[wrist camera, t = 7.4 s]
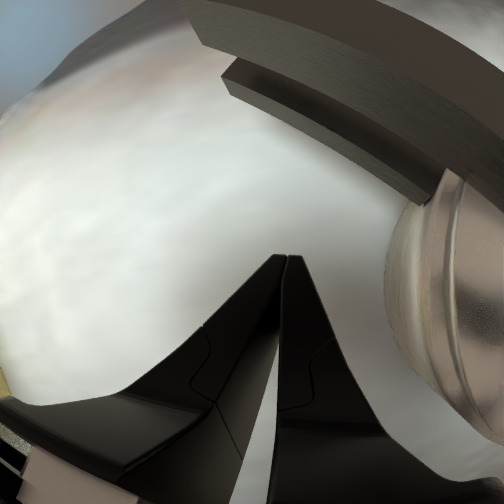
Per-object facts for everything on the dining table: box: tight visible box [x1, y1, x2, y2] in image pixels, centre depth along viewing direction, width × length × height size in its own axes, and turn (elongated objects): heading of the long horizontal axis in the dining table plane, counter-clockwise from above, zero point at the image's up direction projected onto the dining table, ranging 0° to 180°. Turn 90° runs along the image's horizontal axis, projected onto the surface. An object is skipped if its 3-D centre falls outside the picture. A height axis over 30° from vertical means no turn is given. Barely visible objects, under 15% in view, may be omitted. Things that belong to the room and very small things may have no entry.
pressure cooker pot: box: [221, 57, 504, 446], centre depth 14 cm, size 31×16×9 cm, turn 54°
